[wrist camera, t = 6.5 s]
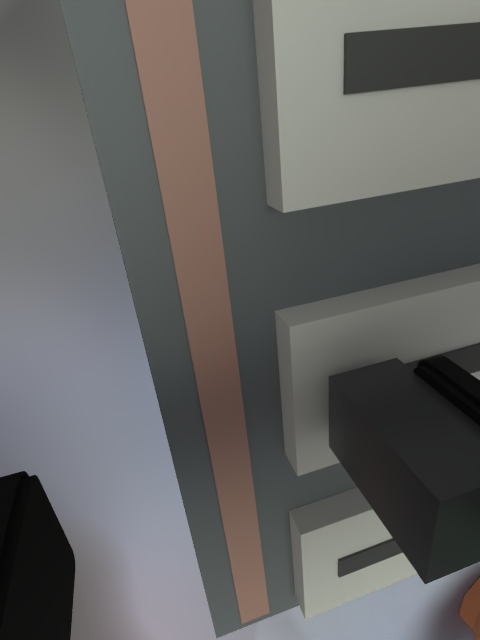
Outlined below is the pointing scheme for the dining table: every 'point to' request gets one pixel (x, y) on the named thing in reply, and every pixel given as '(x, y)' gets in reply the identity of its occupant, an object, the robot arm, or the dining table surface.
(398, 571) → the breaker panel
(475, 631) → the potted cactus
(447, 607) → the dining table surface
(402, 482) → the breaker handle
